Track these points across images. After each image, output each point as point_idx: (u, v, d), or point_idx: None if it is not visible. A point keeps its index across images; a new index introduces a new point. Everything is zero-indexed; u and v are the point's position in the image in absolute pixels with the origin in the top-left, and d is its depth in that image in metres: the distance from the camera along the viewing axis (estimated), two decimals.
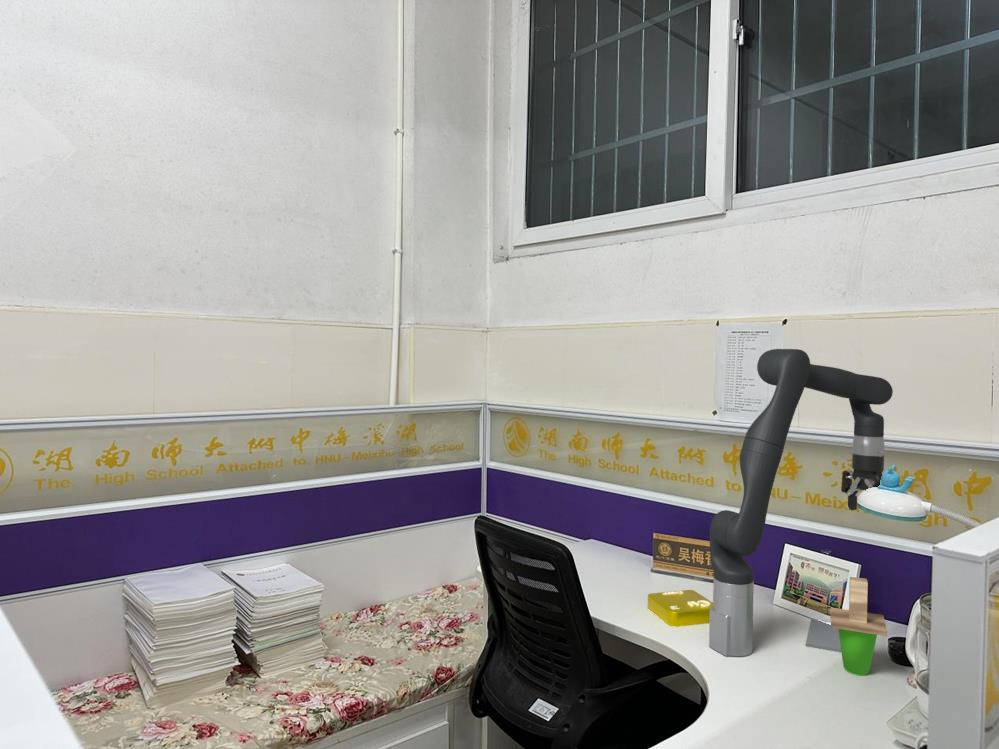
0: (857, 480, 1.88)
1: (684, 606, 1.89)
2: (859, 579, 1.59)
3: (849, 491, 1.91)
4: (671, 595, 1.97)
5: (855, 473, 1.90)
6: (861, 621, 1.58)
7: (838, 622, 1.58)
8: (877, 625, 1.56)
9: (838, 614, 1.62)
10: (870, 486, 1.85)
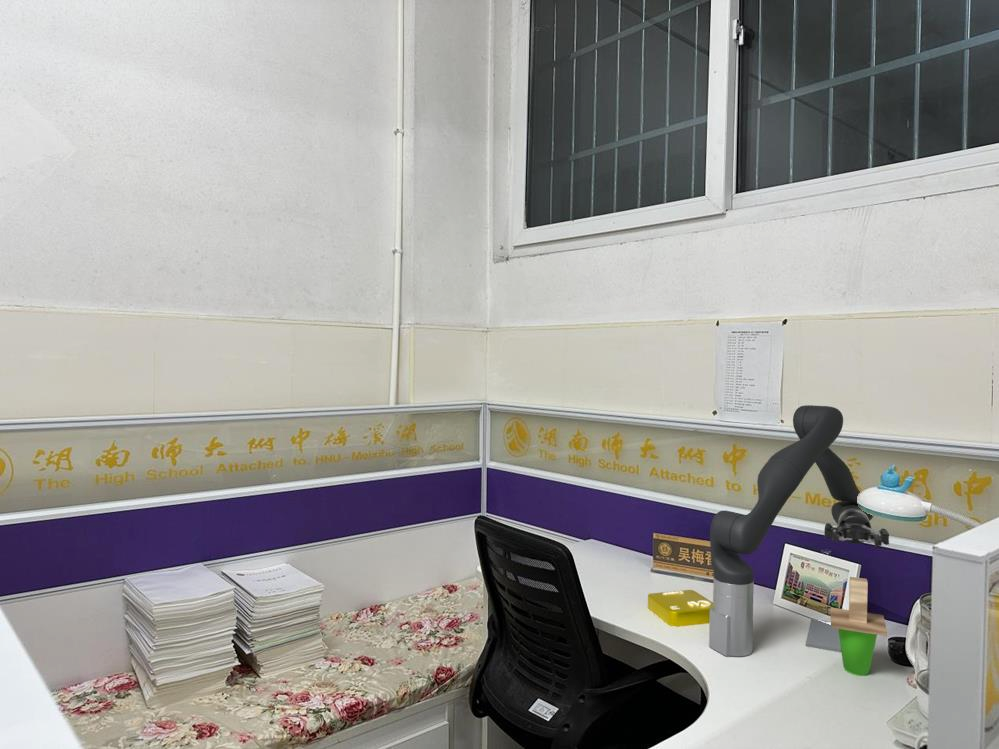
0: (849, 524, 1.78)
1: (685, 606, 1.89)
2: (859, 579, 1.59)
3: (836, 529, 1.76)
4: (671, 595, 1.97)
5: None
6: (861, 621, 1.58)
7: (838, 622, 1.58)
8: (877, 625, 1.56)
9: (838, 614, 1.62)
10: (866, 527, 1.75)
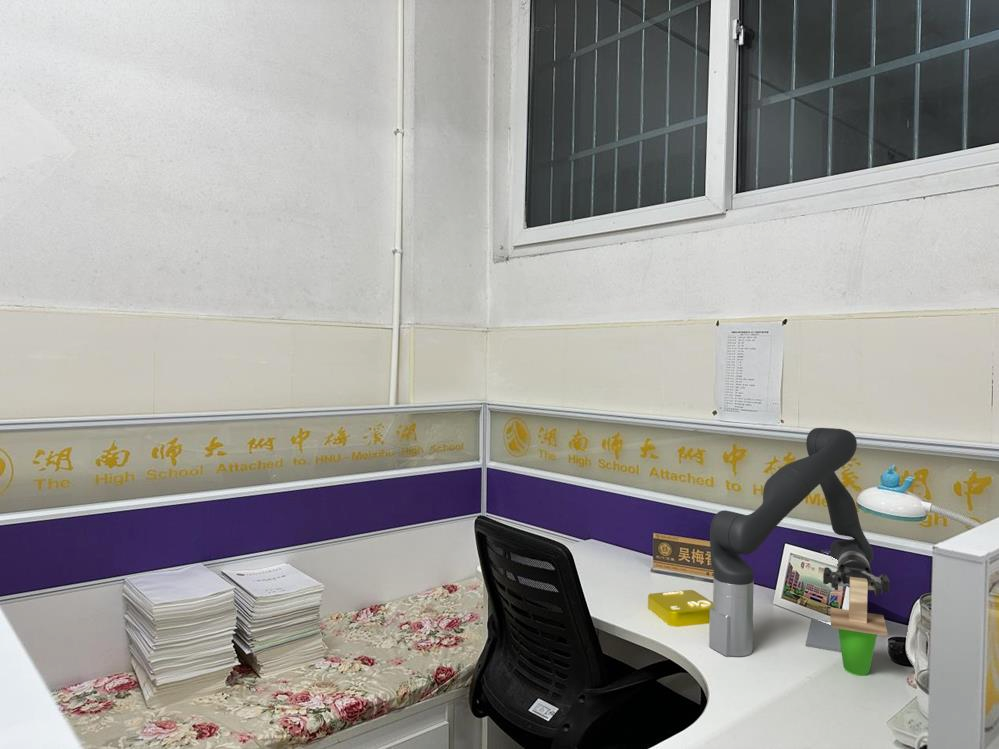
0: (848, 569, 1.73)
1: (685, 606, 1.89)
2: (859, 579, 1.59)
3: (835, 574, 1.71)
4: (671, 595, 1.97)
5: (842, 570, 1.75)
6: (861, 621, 1.58)
7: (838, 622, 1.58)
8: (877, 625, 1.56)
9: (838, 614, 1.62)
10: (866, 573, 1.71)
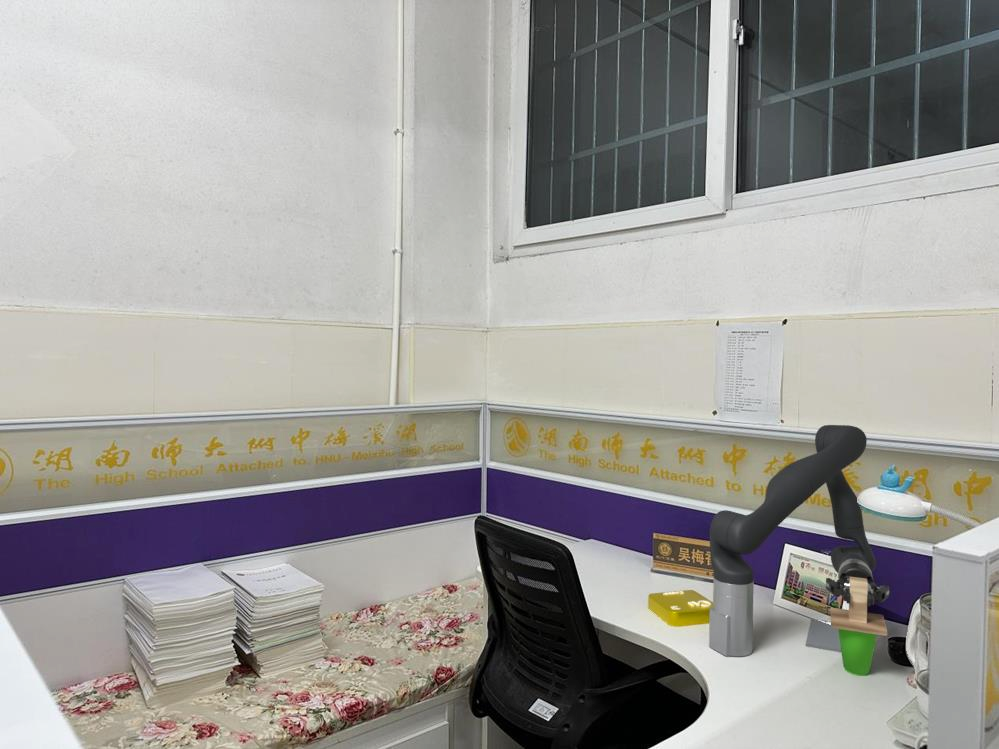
0: None
1: (685, 606, 1.89)
2: (859, 579, 1.59)
3: (847, 586, 1.62)
4: (672, 595, 1.97)
5: (842, 578, 1.68)
6: (861, 621, 1.58)
7: (838, 622, 1.58)
8: (877, 625, 1.56)
9: (838, 614, 1.62)
10: None
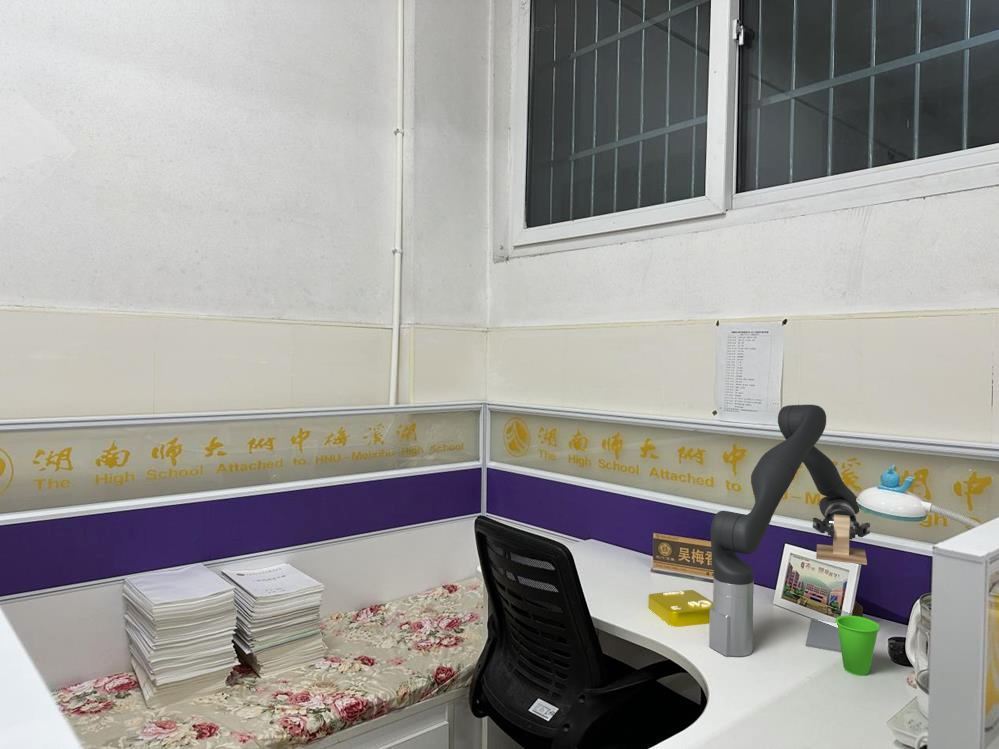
0: None
1: (685, 606, 1.89)
2: (842, 516, 1.75)
3: (831, 523, 1.78)
4: (672, 595, 1.97)
5: (827, 518, 1.84)
6: (844, 553, 1.73)
7: (823, 554, 1.73)
8: (858, 556, 1.72)
9: (823, 549, 1.78)
10: None
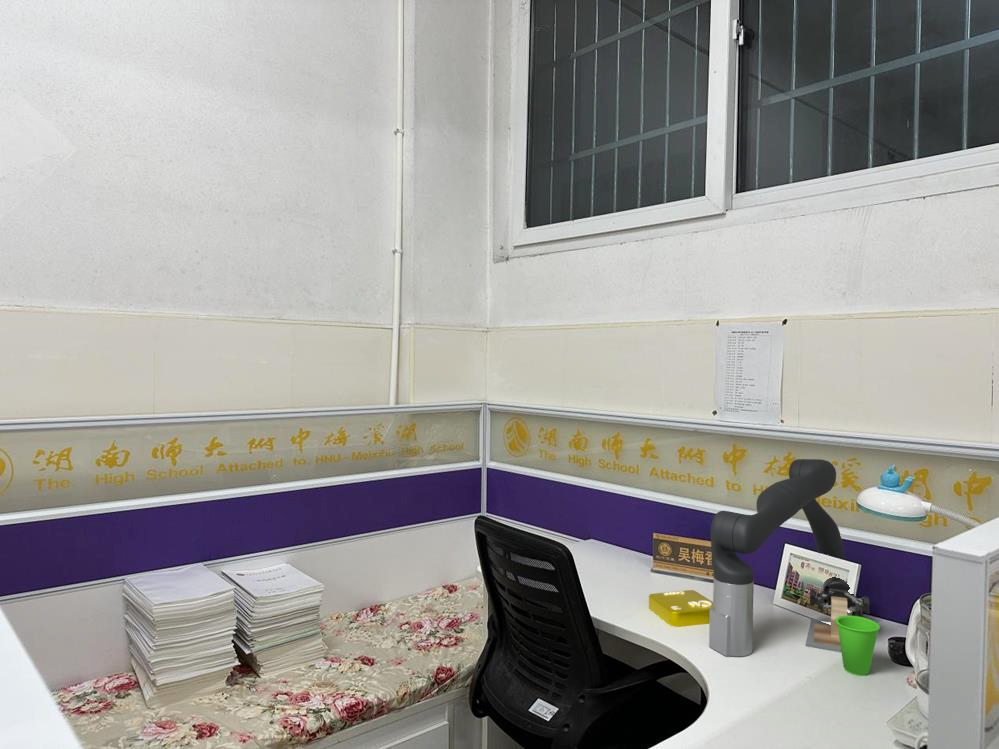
0: (832, 590, 1.83)
1: (686, 606, 1.89)
2: (840, 599, 1.76)
3: (821, 596, 1.80)
4: (672, 595, 1.97)
5: (826, 591, 1.85)
6: None
7: (821, 638, 1.74)
8: None
9: (821, 630, 1.79)
10: (848, 595, 1.80)
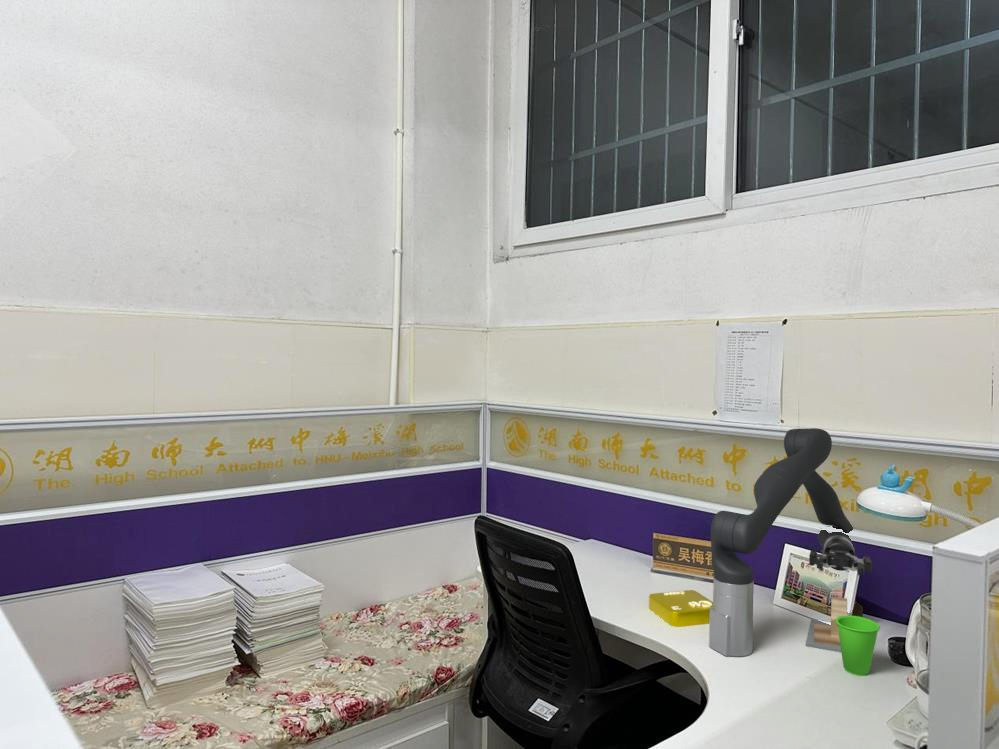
0: (833, 551, 1.82)
1: (686, 606, 1.89)
2: (840, 599, 1.76)
3: (820, 556, 1.80)
4: (672, 595, 1.97)
5: (827, 552, 1.84)
6: None
7: (821, 638, 1.74)
8: None
9: (821, 630, 1.79)
10: (849, 555, 1.80)
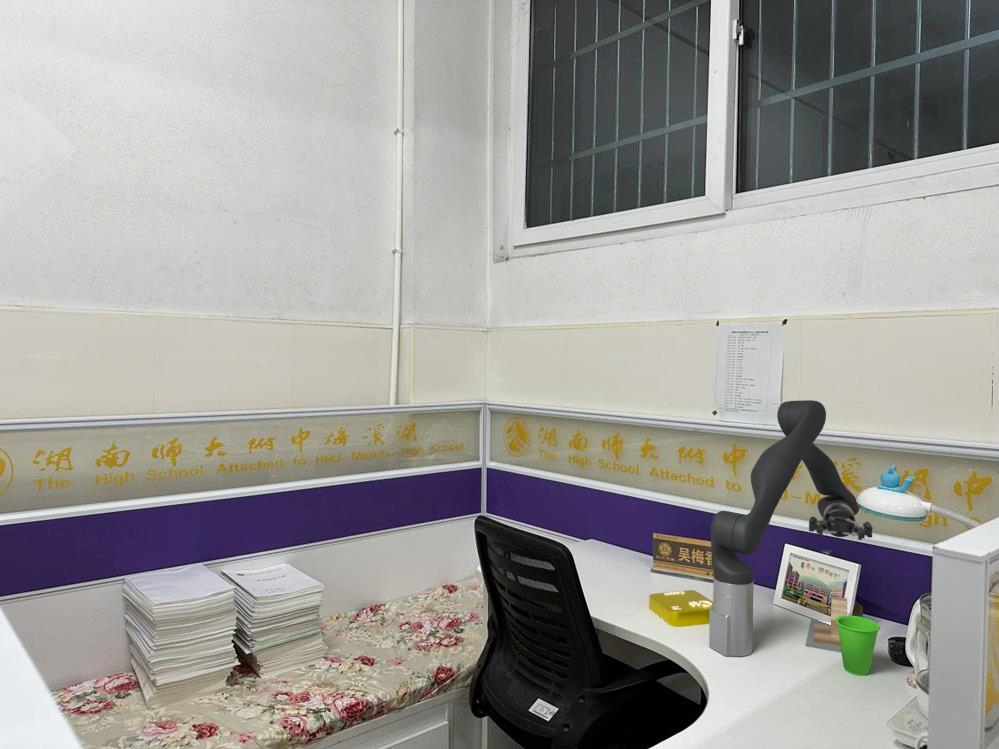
0: (833, 517, 1.80)
1: (686, 606, 1.89)
2: (840, 599, 1.76)
3: (820, 522, 1.78)
4: (673, 595, 1.97)
5: (827, 518, 1.82)
6: None
7: (821, 638, 1.74)
8: None
9: (821, 630, 1.79)
10: (850, 520, 1.77)
